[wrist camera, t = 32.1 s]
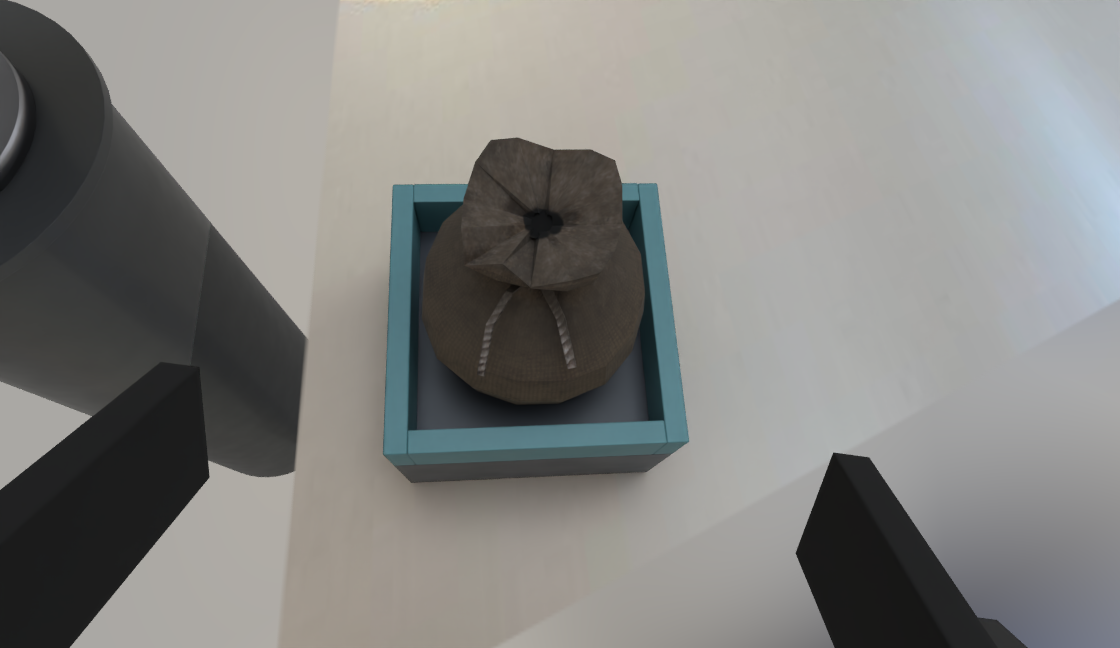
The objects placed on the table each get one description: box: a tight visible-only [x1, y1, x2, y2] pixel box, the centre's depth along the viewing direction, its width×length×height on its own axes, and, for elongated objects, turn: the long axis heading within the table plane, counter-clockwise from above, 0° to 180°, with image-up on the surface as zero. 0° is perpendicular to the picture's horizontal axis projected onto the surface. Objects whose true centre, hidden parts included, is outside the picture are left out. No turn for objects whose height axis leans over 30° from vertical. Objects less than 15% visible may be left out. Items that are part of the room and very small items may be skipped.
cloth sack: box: [422, 138, 645, 405], centre depth 27 cm, size 10×10×12 cm
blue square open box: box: [383, 183, 689, 483], centre depth 34 cm, size 13×13×9 cm
